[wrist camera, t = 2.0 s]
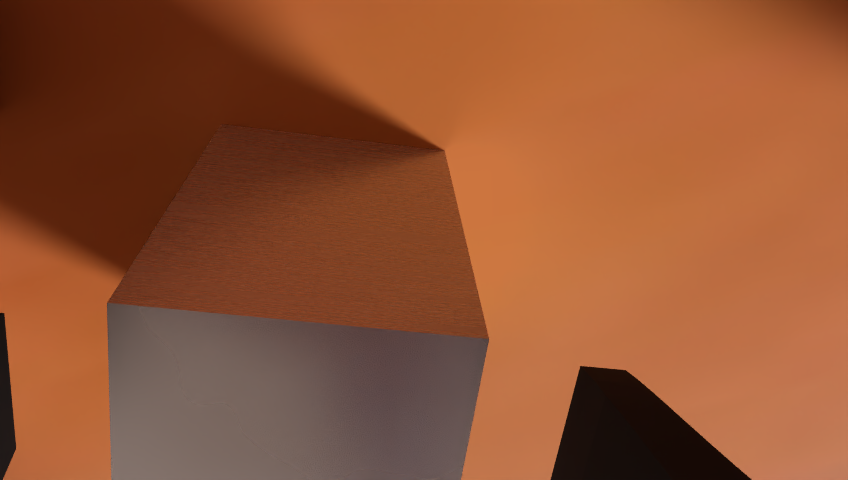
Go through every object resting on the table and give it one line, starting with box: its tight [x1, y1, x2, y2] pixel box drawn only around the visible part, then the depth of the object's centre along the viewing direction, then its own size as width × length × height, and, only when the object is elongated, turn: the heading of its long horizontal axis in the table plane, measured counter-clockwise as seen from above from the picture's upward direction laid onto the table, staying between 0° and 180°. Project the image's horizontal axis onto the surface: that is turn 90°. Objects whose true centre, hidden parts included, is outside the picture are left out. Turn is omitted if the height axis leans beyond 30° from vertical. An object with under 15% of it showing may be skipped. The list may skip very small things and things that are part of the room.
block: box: [107, 124, 489, 480], centre depth 12 cm, size 4×4×6 cm
